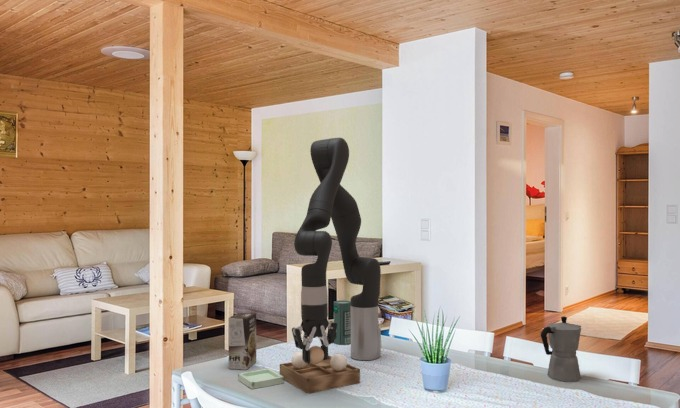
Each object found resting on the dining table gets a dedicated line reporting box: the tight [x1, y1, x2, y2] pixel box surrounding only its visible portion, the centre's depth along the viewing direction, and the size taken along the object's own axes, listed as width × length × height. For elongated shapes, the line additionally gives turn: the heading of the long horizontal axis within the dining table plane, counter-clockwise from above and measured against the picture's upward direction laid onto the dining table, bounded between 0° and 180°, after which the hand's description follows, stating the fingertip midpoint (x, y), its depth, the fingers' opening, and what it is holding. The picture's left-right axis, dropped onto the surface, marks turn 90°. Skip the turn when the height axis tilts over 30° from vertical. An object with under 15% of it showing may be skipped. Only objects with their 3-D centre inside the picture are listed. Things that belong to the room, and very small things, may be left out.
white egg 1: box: [290, 350, 308, 369], centre depth 176 cm, size 5×5×5 cm
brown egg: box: [309, 345, 324, 364], centre depth 169 cm, size 5×5×5 cm
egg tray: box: [279, 355, 361, 394], centre depth 175 cm, size 17×17×4 cm
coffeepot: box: [540, 315, 582, 383], centre depth 176 cm, size 15×9×18 cm, turn 116°
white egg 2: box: [330, 353, 348, 371], centre depth 173 cm, size 5×5×5 cm
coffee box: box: [227, 312, 257, 371], centre depth 190 cm, size 9×6×16 cm
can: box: [333, 299, 351, 346], centre depth 218 cm, size 6×6×15 cm
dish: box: [237, 368, 285, 390], centre depth 173 cm, size 10×10×2 cm
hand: (315, 360), depth 169 cm, fingers closed on brown egg, 5 cm apart
